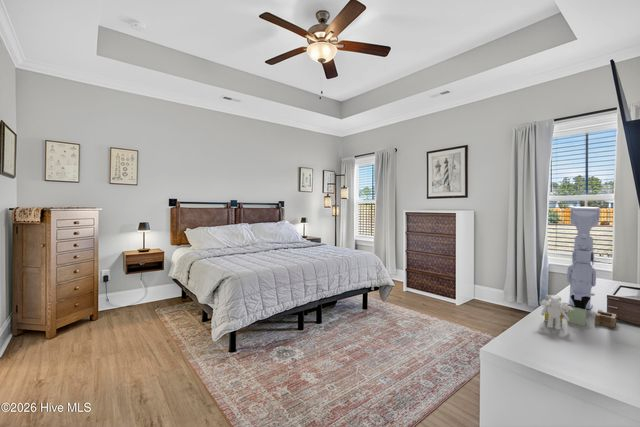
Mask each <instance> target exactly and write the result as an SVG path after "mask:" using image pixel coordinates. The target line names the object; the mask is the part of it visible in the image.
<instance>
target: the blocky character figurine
mask: <svg viewBox="0 0 640 427" xmlns="http://www.w3.org/2000/svg"><path fill="white" fill-rule="evenodd" d="M544 295H545V296H546V298H548V297H549V298H552V297H551V296H552V295H553V294H547V293H545V294H544ZM547 301H548V300H547V299H543V300H542V299H541V301H540V302H539V306H541V307H542V310H541V313H540V314H541V316H545V313H546V314H547V312H548V314H549V319H548V322H547V325H546V327H547V328H550V329H553V328H554V329H555V330H558V331H561V330H562V326H561V324H560V315H561V313H562V315H563V318H564V319H565V320H566V322H567V321H569V318H568V317H567V314H566V313H568V310H569V311H570V310H571V308H570V306H571V305H567V303H566V304H565V305H564V306H563V307H562V305H561V303H562V300H561V301H560V300H559V299H558V298H555V297H553V298H552V299H550V300H549V304H548V303H547ZM563 309H564V310H563ZM565 310H566V311H565ZM546 311H547V312H546ZM570 312H571V311H570ZM554 318H555V321H556V324H553V319H554ZM553 325H554V327H553Z"/></svg>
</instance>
